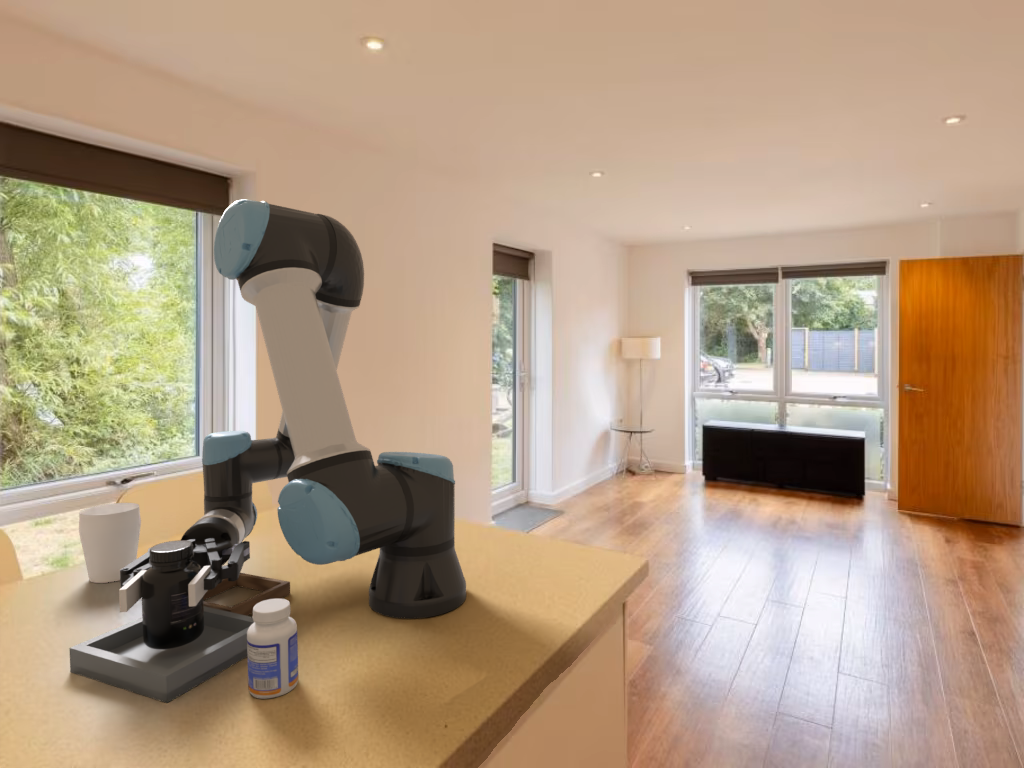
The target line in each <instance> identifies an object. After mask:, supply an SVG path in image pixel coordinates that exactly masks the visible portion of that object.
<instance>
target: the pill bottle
mask: <svg viewBox="0 0 1024 768" xmlns="http://www.w3.org/2000/svg"><path fill="white" fill-rule="evenodd" d="M291 612H292V611H291V602H290V601H289V600H287V599H285V598H281V599H269V600H264V601H261V602H259V603H257V604H256V605H255V606H254V607H253V613H252V616H251V617H252V618H253V621H254V623H253V624H252V625H251V626H250V627H249V629H248V631H247V655H248V656H247V677H248V678H247V684H248V692H249V693H250V695H251V697H253V698H257V699H259V700H260V699H261V700H262V699H263V700H264V699H265V700H267V699H268V700H269V699H273V698H277V697H280V696H283V695H286V694H288V693H289V692H291V691H292V690H294V689H295V688H296V687H297V685H298V682H299V648H298V647H299V644H298V625H297V621H296V620H295V619H294V618H293V617H292V616H290V615H291Z"/></svg>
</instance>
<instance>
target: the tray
mask: <svg viewBox="0 0 1024 768" xmlns="http://www.w3.org/2000/svg"><path fill="white" fill-rule="evenodd" d="M252 617H253V616H250V615H247V616H246V615H241V614H237V613H232V612H228V611H223V610H219V609H214V608H210V607H205V606H204V630H203V633H202V634H201V635H200V636H199V637H198V638H197V639H196V640H194V641H192V642H191V643H188V644H186V645H183V646H180V647H176V648H171V649H152V648H149V647H148V646H146V645H145V643H144V640H143V621H142V617H140V618H137V619H135V620H132V621H131V622H127V623H125V624H123V625H120V626H118V627H116V628H114V629H111V630H108V631H107V632H104V633H102V634H99V635H96V636H94V637H92V638H89V639H88V640H84V641H82V642H80V643H78V644H75V645H73V646H71V647H69V648H68V649H69V669H70V671H69V672H70V673H71V674H72V673H73V674H75V675H78V676H81V677H85V678H88V679H91V680H94V681H98V682H101V683H104V684H107V685H110V686H113V687H116V688H120V689H123V690H126V691H128V692H132V693H136V694H138V695H141V696H144V697H147V698H150V699H153V698H154V700H156V701H159V700H160V702H163V703H166V704H168V703H170V702H172V701H173V700H174V699H176V698H178V697H180V696H182V695H183V694H185V693H187V692H189V691H191V690H192V689H193V687H194V688H196V687H197V686H199V685H200V683H201V684H202V683H204V682H206V681H207V680H210V679H211V678H213V677H214V676H216V675H218V674H220V673H221V672H224V671H225V670H227V669H228V668H230V667H232V666H233V665H235V664H237V663H238V661H239V662H240V661H243V659H245V658H248V655H247V631H248V629H249V627H250V626H251V625H252V624H253V623H254V621H253V618H252ZM236 662H237V663H236ZM231 665H232V666H231ZM188 690H189V691H188ZM186 691H187V692H186Z"/></svg>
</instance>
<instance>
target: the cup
mask: <svg viewBox="0 0 1024 768" xmlns="http://www.w3.org/2000/svg"><path fill="white" fill-rule="evenodd" d="M78 514H79V515H78V517H79V520H78V533H79V538H80V543H81V547H82V552H83V556H84V563H85V566H86V571H87V575H88V579H89V580H88V581H90V582H91V583H94V584H105V583H106V584H107V583H108V582H109V583H115V582H120V569H122V568H124V567H125V566H127V565H128V564H130V563H131V562H133V561H134V560H136V559H137V558H138V551H139V541H140V533H141V526H142V518H141V509H140V504H139V503H135V502H117V503H115V502H114V503H107V504H101V505H95V506H90V507H88V508H84V509H82V510H80V511H79V513H78ZM114 581H115V582H114Z"/></svg>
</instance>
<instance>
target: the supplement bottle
mask: <svg viewBox="0 0 1024 768" xmlns="http://www.w3.org/2000/svg"><path fill="white" fill-rule="evenodd" d="M149 548H150V559H149V564H150V565H151V566H152V567H150V568H149V569H148V570H147V571H146V572H145V573H144V574H143V576H142V579H141V594H142V598H141V618H142V621H143V640H144V643H145V645H146V646H148V647H149V648H152V649H171V648H176V647H180V646H183V645H186V644H188V643H191V642H192V641H194V640H196V639H197V638H198V637H199V636H200V635H201V634H202V633H203V630H204V603H203V597H202V598H201V600H200V601H199V602H198V604H197V605H196V606H190V607H189V593H188V584H189V583H190V582H191V581H192V580H193V578H194V577H195V576H196V575H197V574H198V573H199V572H200V570H201V569H202V568H201V566H200V565H199V564H198V563H197V562H195V561H192V559H193V558H194V552H193V543H192V542H191V541H186V540H181V539H179V540H169V541H165V542H161V543H158V544H155V545H152V546H151V547H149Z"/></svg>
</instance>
